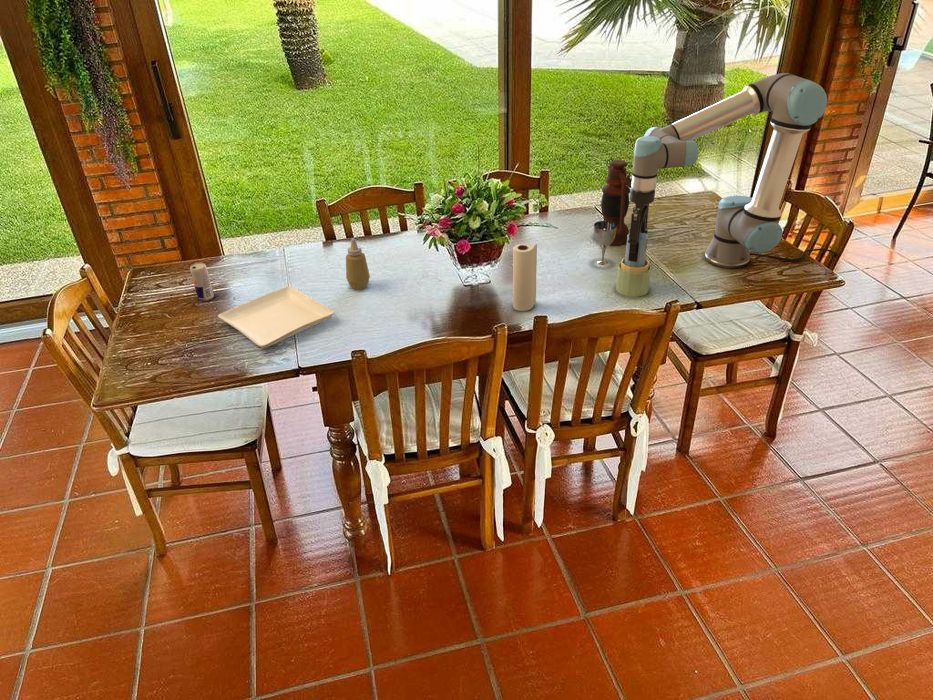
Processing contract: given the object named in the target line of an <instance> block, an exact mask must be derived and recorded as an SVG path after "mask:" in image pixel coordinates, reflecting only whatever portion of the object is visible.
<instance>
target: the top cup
mask: <svg viewBox="0 0 933 700" xmlns="http://www.w3.org/2000/svg"><path fill="white" fill-rule="evenodd" d="M629 236H630V233H629V234H628V236H627V243H626V247H625V255H624V256H625V257H624V258H625V265H626V266H629V267H635V268H639V267H644V266H645V259H647V250H648V241H649V236H648V234H647V233H640V236H639V249H638V258H637V262H633V261H628V259H629V249H630V243H628V240H629Z"/></svg>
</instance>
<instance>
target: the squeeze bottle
mask: <svg viewBox="0 0 933 700" xmlns="http://www.w3.org/2000/svg"><path fill="white" fill-rule="evenodd" d="M345 272H346V273H345V274H346V275H345V277H346V280H347V283H348V284H349V286H350V288H351V289H352V290H355V291H360V290H364V289H366V288H368V286H369V281H370V277H371V275H370V271H369V267H368V262H367V258H366V254H365V253H364V252H363V250H362V247H361V246H359V245H358V244H357V241H356V238H355V237H353V238H351V240H350V247H348V248H347V254H346V256H345Z"/></svg>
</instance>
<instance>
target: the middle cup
mask: <svg viewBox="0 0 933 700" xmlns="http://www.w3.org/2000/svg"><path fill="white" fill-rule="evenodd" d="M620 262H621V269H622V270H624V271H626V272H629V273H644V272H647V271H648V267H649V264H650V261H649V260H648V259H647V258H645V266H644V267H639V268H635V267H629V266H626V265H625V257H623V258H622V259H621V261H620Z"/></svg>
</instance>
